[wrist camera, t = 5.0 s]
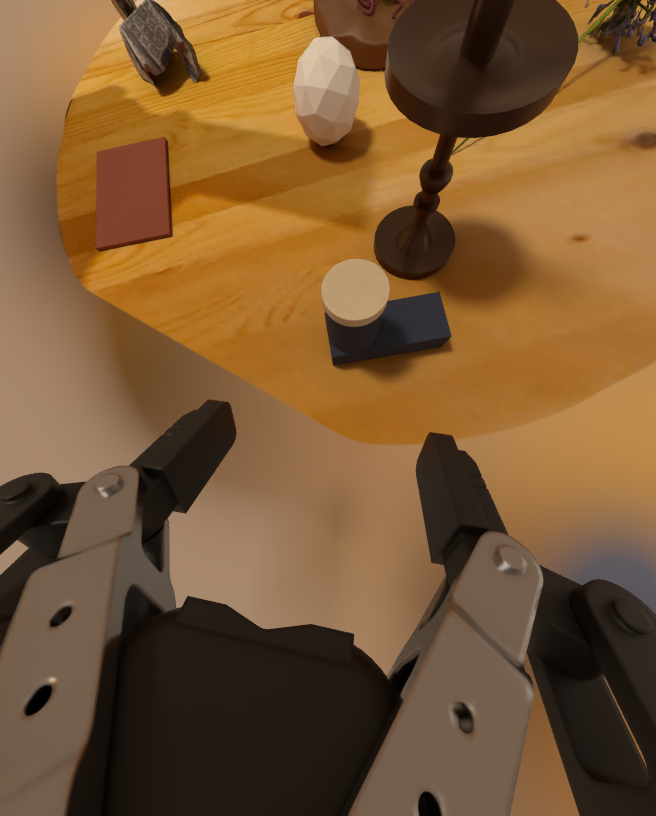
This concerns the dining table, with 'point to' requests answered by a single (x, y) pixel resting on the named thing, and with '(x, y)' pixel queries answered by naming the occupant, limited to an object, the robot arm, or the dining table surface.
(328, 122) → the geometric ball
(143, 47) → the grey patterned crumpled piece
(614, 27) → the flower
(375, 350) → the bootie
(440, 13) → the candlestick
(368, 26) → the plant
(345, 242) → the dining table surface
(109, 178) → the mat
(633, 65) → the dining table surface
